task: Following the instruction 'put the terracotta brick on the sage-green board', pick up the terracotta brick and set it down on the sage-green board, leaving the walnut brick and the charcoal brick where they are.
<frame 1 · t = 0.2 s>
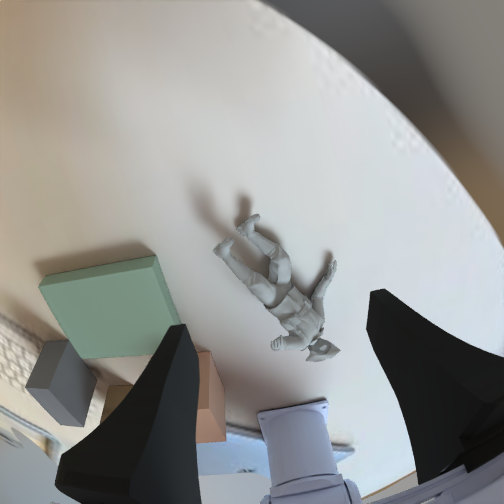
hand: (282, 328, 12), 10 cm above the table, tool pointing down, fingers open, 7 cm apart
charcoal brick: (72, 361, 26), on the table
sage board: (114, 308, 23), on the table
walnut brick: (132, 401, 30), on the table
terracotta brick: (202, 373, 27), on the table
soldier figure: (280, 278, 23), on the table
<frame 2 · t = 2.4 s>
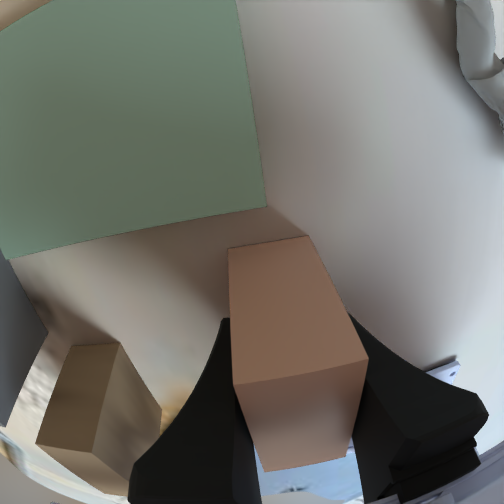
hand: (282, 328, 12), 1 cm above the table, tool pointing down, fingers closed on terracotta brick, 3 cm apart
charcoal brick: (2, 287, 12), on the table
sage board: (93, 109, 8), on the table
walnut brick: (119, 381, 15), on the table
terracotta brick: (276, 305, 13), on the table, touching gripper
soldier figure: (467, 60, 8), on the table
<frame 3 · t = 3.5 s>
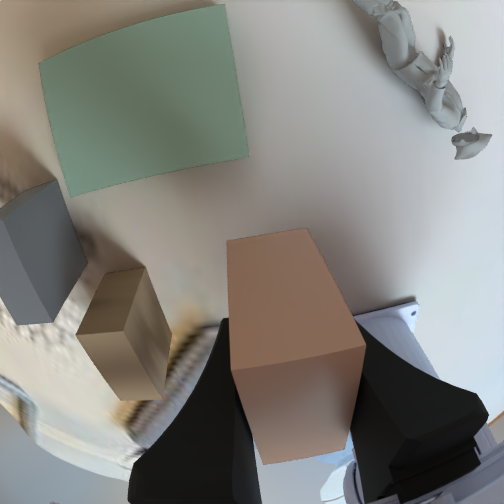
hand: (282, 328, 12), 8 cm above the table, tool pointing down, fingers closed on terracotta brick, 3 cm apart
charcoal brick: (54, 227, 17), on the table
sage board: (142, 99, 14), on the table
walnut brick: (139, 305, 21), on the table
terracotta brick: (275, 297, 13), point 6 cm above the table, touching gripper
soldier figure: (398, 56, 14), on the table
when the fingers open (4 cm above the table, at t = 5.4 s): terracotta brick stays where it is, resting on sage board.
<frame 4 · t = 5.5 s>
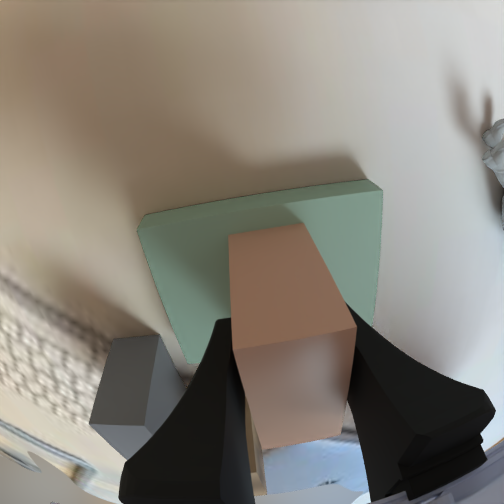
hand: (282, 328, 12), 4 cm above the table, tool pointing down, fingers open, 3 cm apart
charcoal brick: (153, 369, 18), on the table
sage board: (269, 272, 15), on the table
walnut brick: (235, 418, 22), on the table
terracotta brick: (274, 289, 14), point 1 cm above the table, touching sage board
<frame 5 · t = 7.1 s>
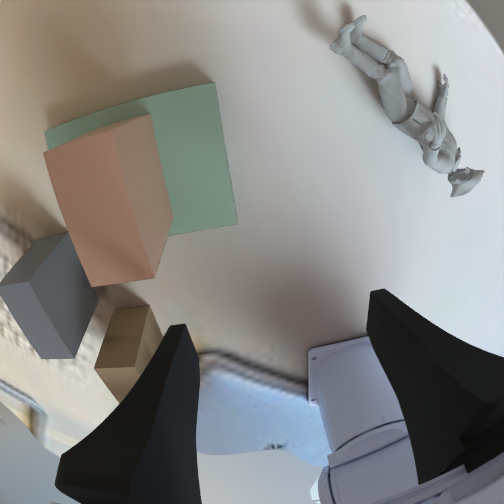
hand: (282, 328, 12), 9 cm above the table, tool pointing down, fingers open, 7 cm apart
charcoal brick: (68, 270, 20), on the table
sage board: (142, 167, 17), on the table
walnut brick: (144, 335, 24), on the table
terracotta brick: (135, 172, 16), point 1 cm above the table, touching sage board
soldier figure: (397, 102, 17), on the table
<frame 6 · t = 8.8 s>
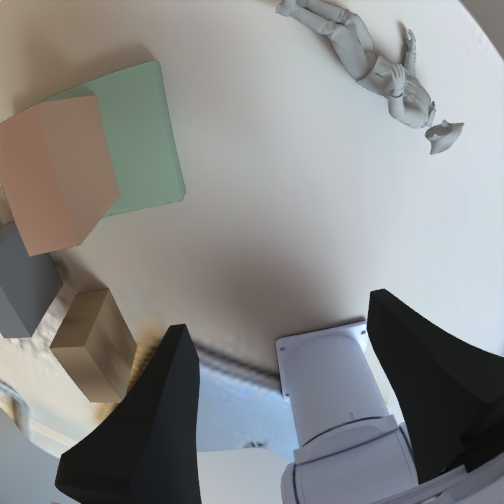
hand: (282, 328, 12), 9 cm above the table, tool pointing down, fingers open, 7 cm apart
charcoal brick: (33, 254, 19), on the table
sage board: (94, 148, 16), on the table
walnut brick: (107, 320, 23), on the table
terracotta brick: (84, 152, 15), point 1 cm above the table, touching sage board
soldier figure: (361, 62, 15), on the table
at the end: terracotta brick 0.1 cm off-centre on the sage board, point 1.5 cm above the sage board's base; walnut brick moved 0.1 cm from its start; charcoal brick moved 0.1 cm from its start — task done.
